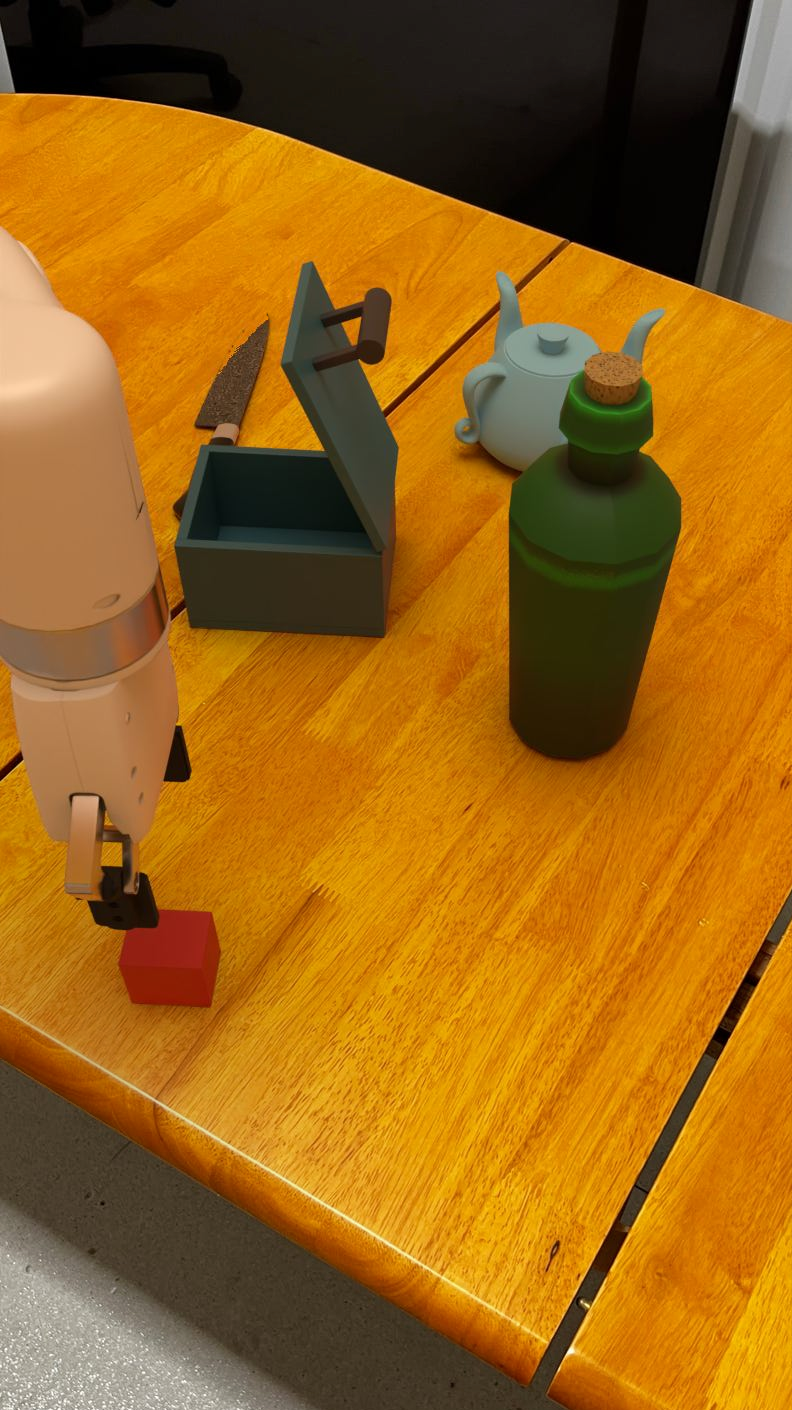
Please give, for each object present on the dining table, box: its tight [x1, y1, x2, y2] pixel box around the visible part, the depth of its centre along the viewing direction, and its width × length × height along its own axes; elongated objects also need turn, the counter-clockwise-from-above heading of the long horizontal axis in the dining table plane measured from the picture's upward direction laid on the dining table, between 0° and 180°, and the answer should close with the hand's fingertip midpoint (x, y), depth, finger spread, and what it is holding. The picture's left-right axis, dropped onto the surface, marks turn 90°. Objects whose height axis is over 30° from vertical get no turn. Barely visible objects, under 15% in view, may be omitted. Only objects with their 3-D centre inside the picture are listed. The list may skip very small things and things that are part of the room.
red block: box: [117, 908, 222, 1008], centre depth 78 cm, size 5×4×4 cm
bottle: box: [508, 351, 682, 759], centre depth 83 cm, size 11×11×28 cm
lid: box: [279, 260, 400, 552], centre depth 89 cm, size 15×12×6 cm
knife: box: [172, 319, 270, 520], centre depth 114 cm, size 32×4×1 cm, turn 175°
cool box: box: [173, 444, 397, 638], centre depth 98 cm, size 15×12×8 cm
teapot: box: [453, 270, 666, 473], centre depth 109 cm, size 15×15×10 cm
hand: (146, 846), depth 70 cm, fingers open, 9 cm apart
